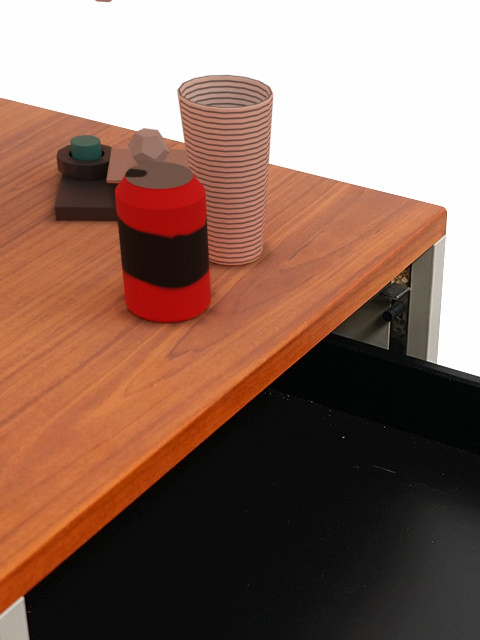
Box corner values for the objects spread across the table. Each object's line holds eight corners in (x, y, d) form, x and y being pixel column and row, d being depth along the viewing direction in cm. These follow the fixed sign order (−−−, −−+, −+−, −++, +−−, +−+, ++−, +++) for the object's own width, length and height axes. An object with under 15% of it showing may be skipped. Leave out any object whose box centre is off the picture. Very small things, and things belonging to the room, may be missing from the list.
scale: (51, 220, 137) (47, 191, 135) (62, 169, 146) (59, 141, 144) (200, 221, 139) (199, 192, 137) (202, 171, 148) (200, 144, 146)
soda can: (134, 281, 128) (123, 154, 120) (217, 287, 128) (211, 161, 120) (117, 320, 122) (104, 190, 114) (204, 326, 122) (196, 196, 115)
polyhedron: (161, 173, 139) (159, 142, 137) (124, 169, 139) (122, 137, 137) (174, 159, 142) (172, 127, 140) (138, 154, 142) (135, 123, 140)
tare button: (70, 162, 141) (68, 145, 140) (73, 151, 143) (71, 134, 142) (100, 163, 142) (99, 146, 141) (102, 151, 144) (101, 135, 143)
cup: (174, 240, 135) (164, 79, 125) (257, 228, 138) (253, 70, 128) (203, 278, 129) (195, 112, 119) (289, 264, 133) (287, 102, 123)
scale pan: (106, 183, 137) (106, 179, 137) (111, 151, 143) (111, 148, 143) (189, 184, 138) (188, 180, 138) (190, 153, 144) (190, 149, 144)
